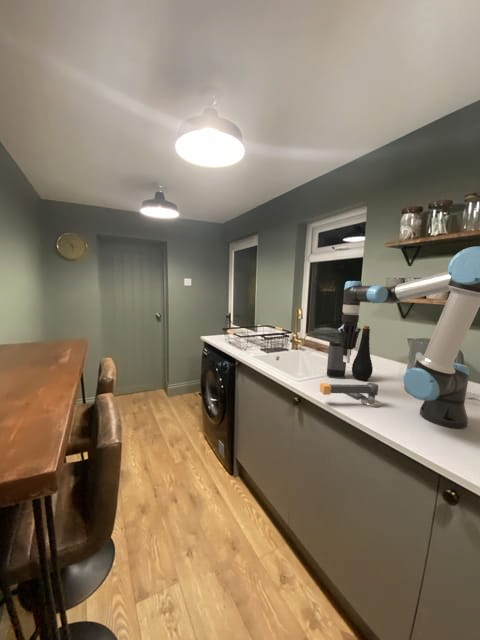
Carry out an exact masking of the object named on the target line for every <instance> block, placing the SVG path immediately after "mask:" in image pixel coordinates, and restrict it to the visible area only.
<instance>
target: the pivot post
mask: <svg viewBox="0 0 480 640" xmlns="http://www.w3.org/2000/svg"><path fill="white" fill-rule="evenodd" d="M367 395H368V396H367V398H362V399H360V403H361V404H363V405H365V406H367V407H371V408H380V407H382V402H381V401H380V400H377V399H376V395H370V394H367Z"/></svg>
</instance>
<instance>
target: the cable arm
mask: <svg viewBox="0 0 480 640" xmlns="http://www.w3.org/2000/svg"><path fill="white" fill-rule="evenodd" d="M319 392H320V393H321V394H322V395H328V396H331V394H345V393H359V394H367V395H368V394H370V395H375V396H378V394H379V384H377V383H374V382H367V384H341V383H339V384H337V383H335V384H332V383H331V384H329V383H328V382H320V385H319Z"/></svg>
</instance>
